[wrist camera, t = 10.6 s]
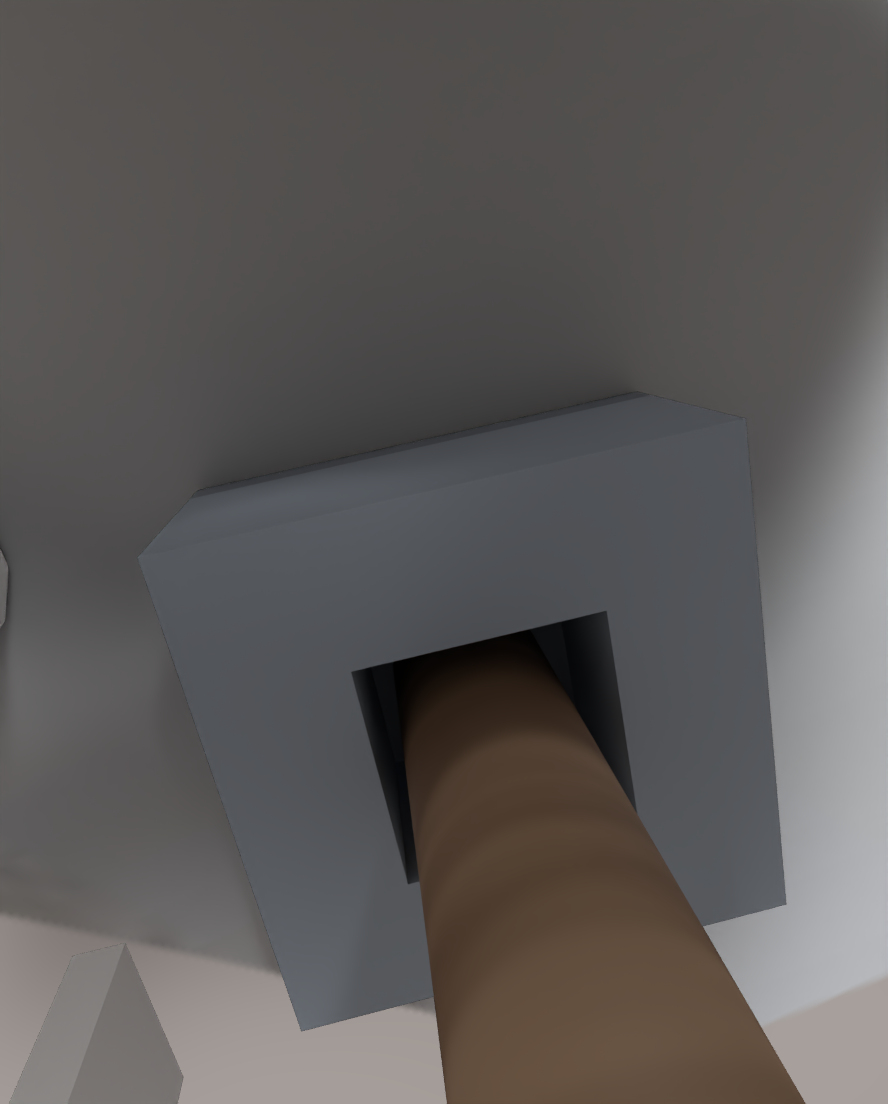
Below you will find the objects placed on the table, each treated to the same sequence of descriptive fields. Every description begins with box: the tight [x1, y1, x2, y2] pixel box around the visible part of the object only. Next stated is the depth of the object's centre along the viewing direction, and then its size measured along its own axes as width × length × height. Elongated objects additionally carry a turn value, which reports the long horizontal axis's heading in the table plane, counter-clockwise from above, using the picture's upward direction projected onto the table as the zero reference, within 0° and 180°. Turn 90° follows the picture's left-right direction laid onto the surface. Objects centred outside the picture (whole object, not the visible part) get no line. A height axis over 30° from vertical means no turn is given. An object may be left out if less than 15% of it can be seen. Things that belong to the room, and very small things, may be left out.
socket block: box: [137, 392, 786, 1031], centre depth 19 cm, size 12×12×6 cm
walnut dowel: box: [393, 629, 805, 1104], centre depth 14 cm, size 4×4×15 cm
